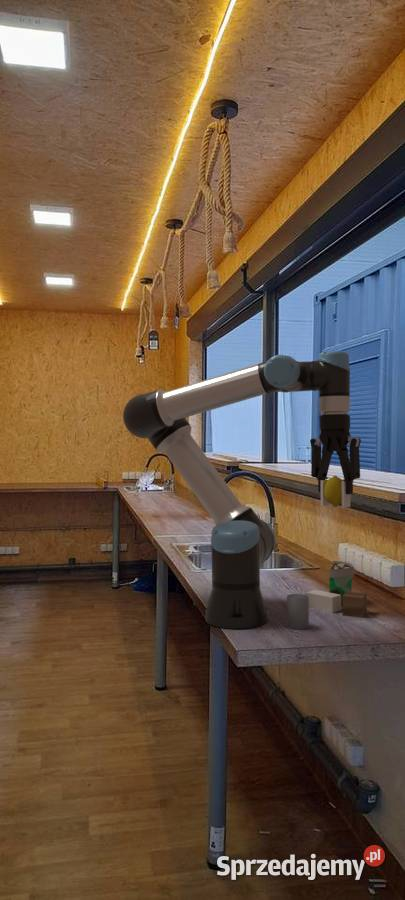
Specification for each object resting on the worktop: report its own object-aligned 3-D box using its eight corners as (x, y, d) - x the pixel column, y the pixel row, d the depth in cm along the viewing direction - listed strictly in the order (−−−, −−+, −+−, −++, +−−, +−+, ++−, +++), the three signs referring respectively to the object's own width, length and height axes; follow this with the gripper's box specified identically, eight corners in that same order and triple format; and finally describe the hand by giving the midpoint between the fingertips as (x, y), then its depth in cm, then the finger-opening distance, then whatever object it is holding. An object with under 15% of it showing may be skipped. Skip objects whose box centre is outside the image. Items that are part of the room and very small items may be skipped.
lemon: (349, 508, 156) (349, 476, 156) (327, 509, 156) (327, 476, 156) (343, 506, 162) (342, 474, 162) (321, 506, 161) (321, 475, 161)
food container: (353, 609, 162) (353, 570, 161) (329, 608, 163) (328, 569, 163) (356, 597, 173) (356, 561, 173) (333, 596, 175) (333, 560, 175)
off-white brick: (332, 613, 159) (332, 597, 159) (306, 607, 165) (306, 592, 165) (341, 610, 162) (341, 594, 162) (315, 604, 168) (315, 589, 168)
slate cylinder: (300, 631, 145) (300, 600, 144) (282, 626, 148) (282, 597, 148) (312, 626, 148) (312, 596, 148) (294, 621, 152) (294, 592, 151)
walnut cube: (363, 618, 154) (362, 597, 154) (342, 615, 157) (342, 595, 157) (367, 612, 159) (366, 593, 159) (347, 610, 161) (347, 591, 161)
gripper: (375, 412, 154) (376, 507, 155) (313, 415, 167) (314, 502, 168) (358, 412, 149) (359, 510, 149) (295, 415, 162) (296, 505, 163)
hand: (335, 506), depth 159 cm, fingers closed on lemon, 5 cm apart
